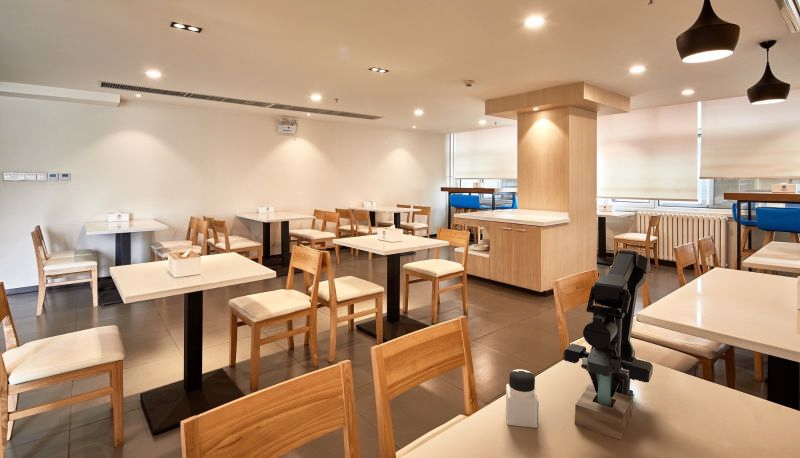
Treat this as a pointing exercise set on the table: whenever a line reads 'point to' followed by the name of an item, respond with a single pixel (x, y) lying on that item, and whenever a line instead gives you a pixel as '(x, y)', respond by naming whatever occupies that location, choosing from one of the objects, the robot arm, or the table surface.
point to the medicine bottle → (521, 399)
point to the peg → (604, 390)
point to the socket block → (603, 413)
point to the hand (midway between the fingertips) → (604, 394)
